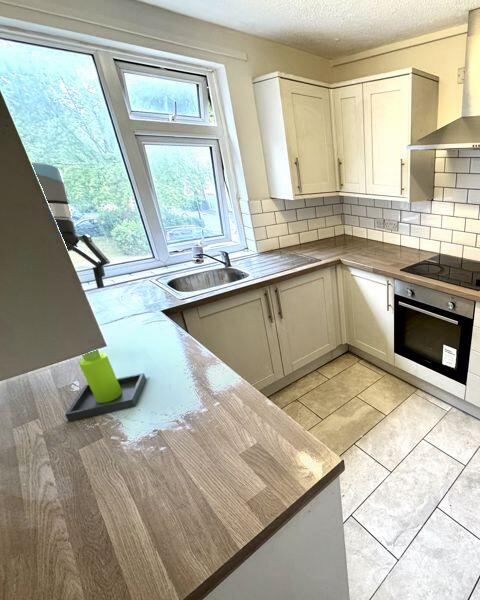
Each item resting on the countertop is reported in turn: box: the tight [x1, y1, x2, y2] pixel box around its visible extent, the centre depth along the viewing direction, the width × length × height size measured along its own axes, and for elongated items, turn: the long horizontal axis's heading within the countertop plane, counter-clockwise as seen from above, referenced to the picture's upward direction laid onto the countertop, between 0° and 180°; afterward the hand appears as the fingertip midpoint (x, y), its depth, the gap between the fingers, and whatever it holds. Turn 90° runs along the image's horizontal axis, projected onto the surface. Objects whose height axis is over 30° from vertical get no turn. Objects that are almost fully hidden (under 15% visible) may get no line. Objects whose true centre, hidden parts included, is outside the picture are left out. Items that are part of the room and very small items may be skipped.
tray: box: [64, 372, 147, 422], centre depth 95 cm, size 15×14×2 cm
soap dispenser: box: [78, 349, 122, 403], centre depth 92 cm, size 6×7×20 cm
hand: (73, 290), depth 101 cm, fingers open, 13 cm apart
